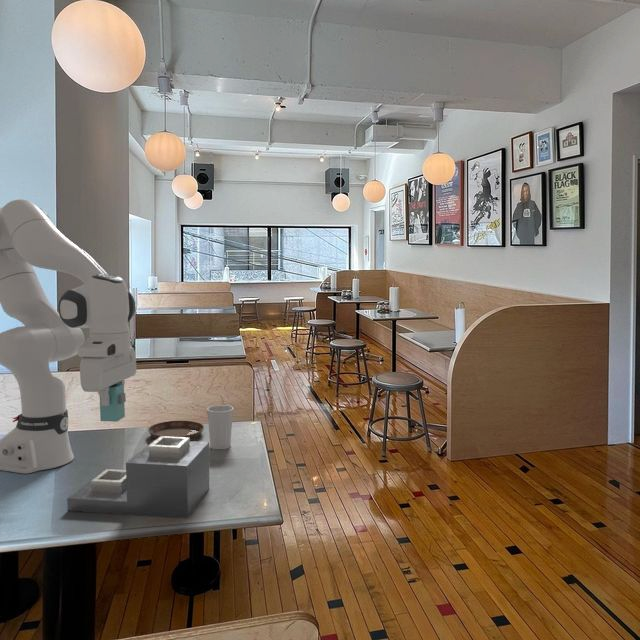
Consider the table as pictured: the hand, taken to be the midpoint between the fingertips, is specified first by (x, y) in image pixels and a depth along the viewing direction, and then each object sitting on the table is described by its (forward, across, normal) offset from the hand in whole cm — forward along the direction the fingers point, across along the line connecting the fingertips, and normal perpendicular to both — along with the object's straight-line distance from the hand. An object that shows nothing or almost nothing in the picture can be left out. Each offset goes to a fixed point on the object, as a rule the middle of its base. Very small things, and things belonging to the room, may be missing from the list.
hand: (112, 402), depth 125 cm
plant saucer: (+24, -47, -2) cm, 53 cm away
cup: (+24, -39, +15) cm, 48 cm away
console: (+24, 0, +7) cm, 24 cm away
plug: (+4, 0, 0) cm, 4 cm away
